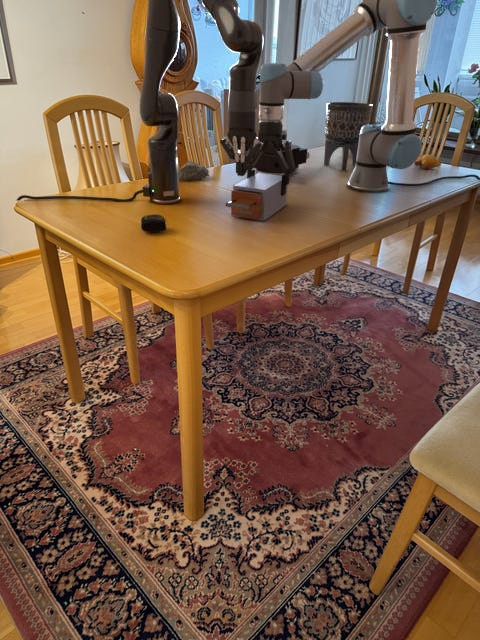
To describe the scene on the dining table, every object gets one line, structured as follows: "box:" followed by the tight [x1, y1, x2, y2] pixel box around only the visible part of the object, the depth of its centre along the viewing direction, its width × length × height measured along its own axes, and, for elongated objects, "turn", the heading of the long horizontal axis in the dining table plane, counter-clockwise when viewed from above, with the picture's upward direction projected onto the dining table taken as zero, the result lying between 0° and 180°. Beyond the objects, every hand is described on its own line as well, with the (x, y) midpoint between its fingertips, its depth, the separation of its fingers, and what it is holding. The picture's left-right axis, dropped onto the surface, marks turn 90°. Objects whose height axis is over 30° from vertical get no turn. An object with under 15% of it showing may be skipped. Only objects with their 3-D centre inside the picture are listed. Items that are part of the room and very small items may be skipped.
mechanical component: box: [249, 127, 311, 176], centre depth 191 cm, size 22×21×30 cm
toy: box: [413, 154, 442, 170], centre depth 212 cm, size 11×6×15 cm
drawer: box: [224, 189, 262, 220], centre depth 142 cm, size 24×9×8 cm, turn 154°
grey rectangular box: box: [232, 173, 288, 222], centre depth 146 cm, size 20×11×10 cm, turn 154°
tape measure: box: [140, 213, 167, 233], centre depth 128 cm, size 7×7×4 cm
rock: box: [178, 160, 210, 182], centre depth 182 cm, size 13×9×6 cm, turn 131°
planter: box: [323, 101, 374, 172], centre depth 204 cm, size 20×20×26 cm
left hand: (241, 175), depth 130 cm, fingers closed
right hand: (267, 192), depth 151 cm, fingers closed on grey rectangular box, 11 cm apart
